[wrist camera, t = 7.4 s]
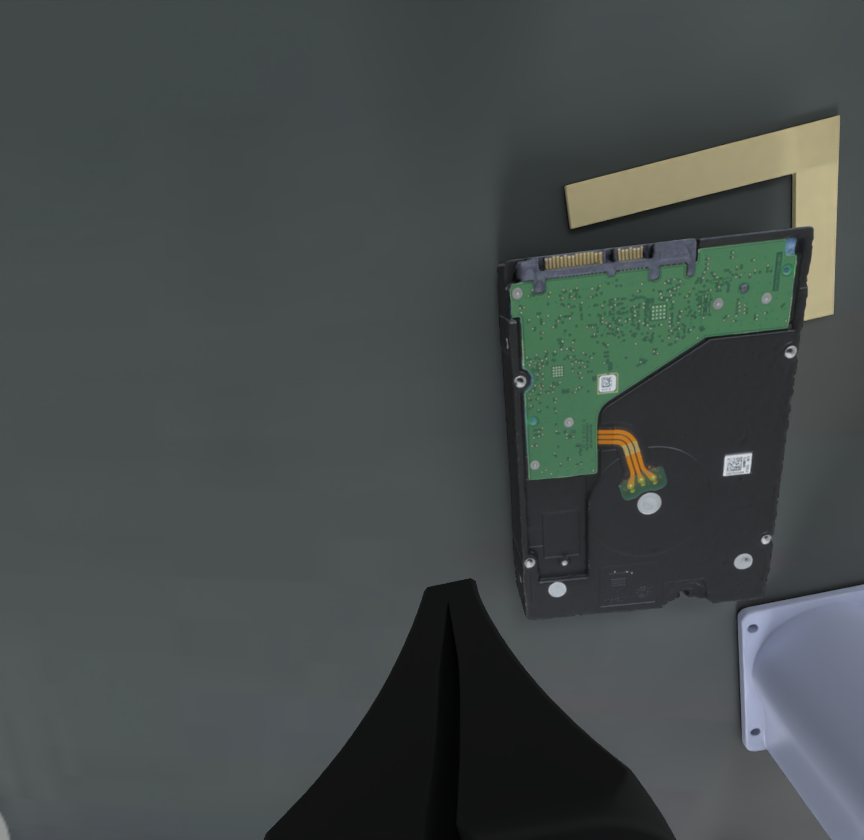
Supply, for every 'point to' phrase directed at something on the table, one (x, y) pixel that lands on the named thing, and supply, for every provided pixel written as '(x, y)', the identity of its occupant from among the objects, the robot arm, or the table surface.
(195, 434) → the table surface
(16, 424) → the table surface
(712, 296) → the disk drive
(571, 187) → the tape mark
